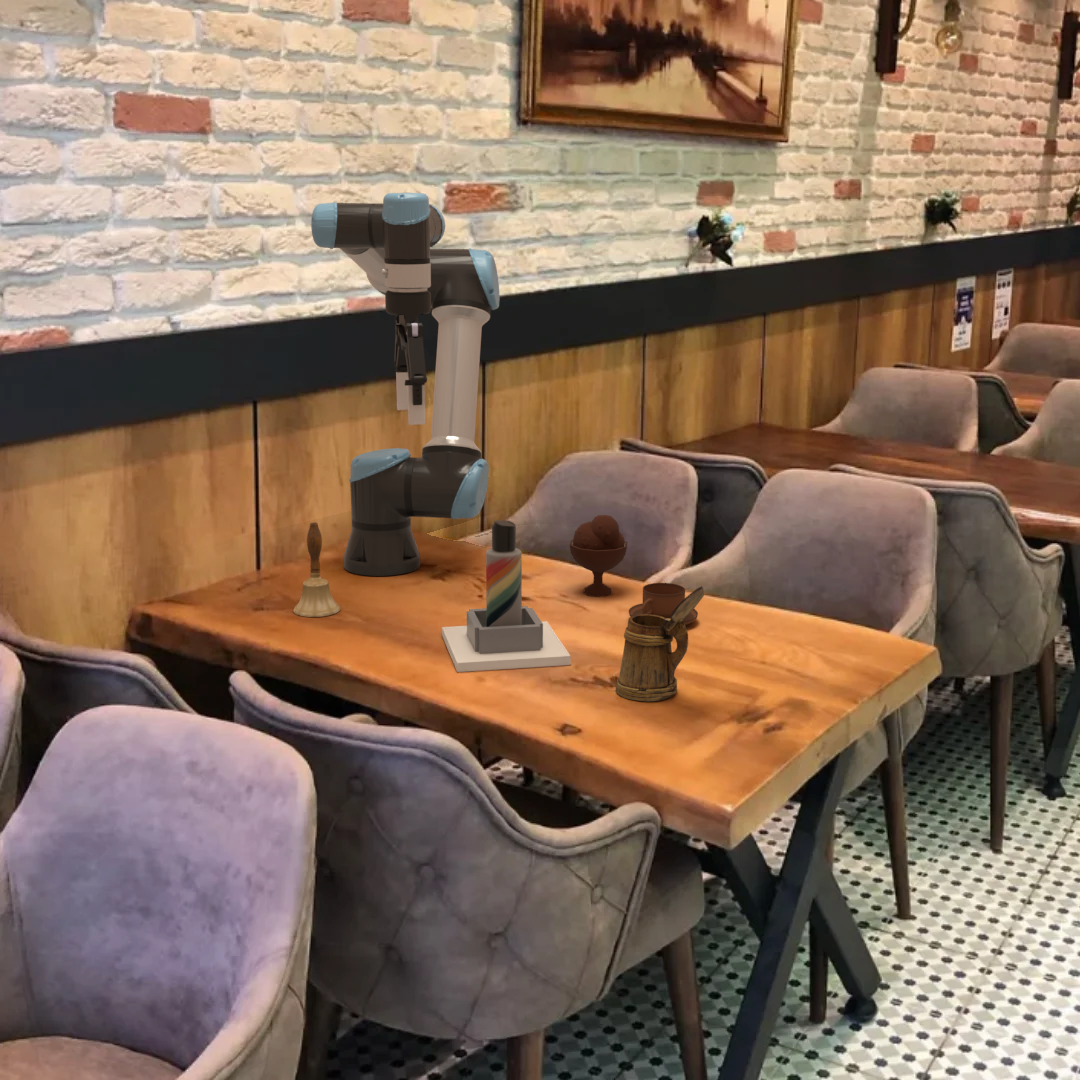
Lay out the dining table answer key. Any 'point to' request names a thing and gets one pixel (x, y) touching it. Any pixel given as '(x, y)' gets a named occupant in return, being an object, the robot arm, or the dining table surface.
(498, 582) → the lotion bottle
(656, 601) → the cup and saucer
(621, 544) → the ice cream bowl
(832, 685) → the dining table surface
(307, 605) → the hand bell
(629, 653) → the wooden mug
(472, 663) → the bottle holder
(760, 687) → the dining table surface
